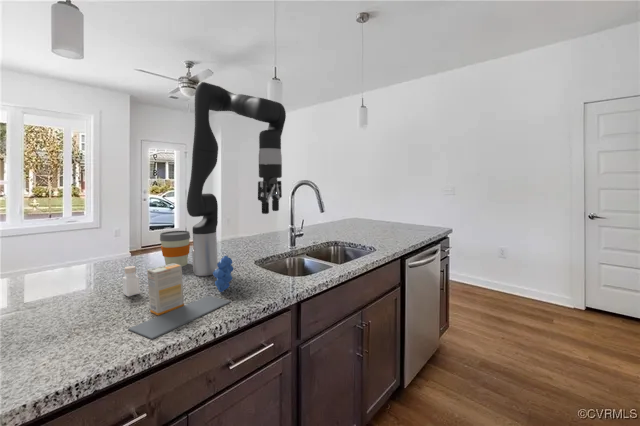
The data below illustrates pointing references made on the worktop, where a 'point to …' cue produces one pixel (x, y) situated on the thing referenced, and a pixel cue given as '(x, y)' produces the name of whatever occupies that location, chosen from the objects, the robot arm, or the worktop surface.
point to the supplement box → (165, 288)
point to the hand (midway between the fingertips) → (270, 212)
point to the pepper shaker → (131, 281)
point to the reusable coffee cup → (175, 247)
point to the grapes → (223, 273)
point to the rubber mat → (178, 317)
